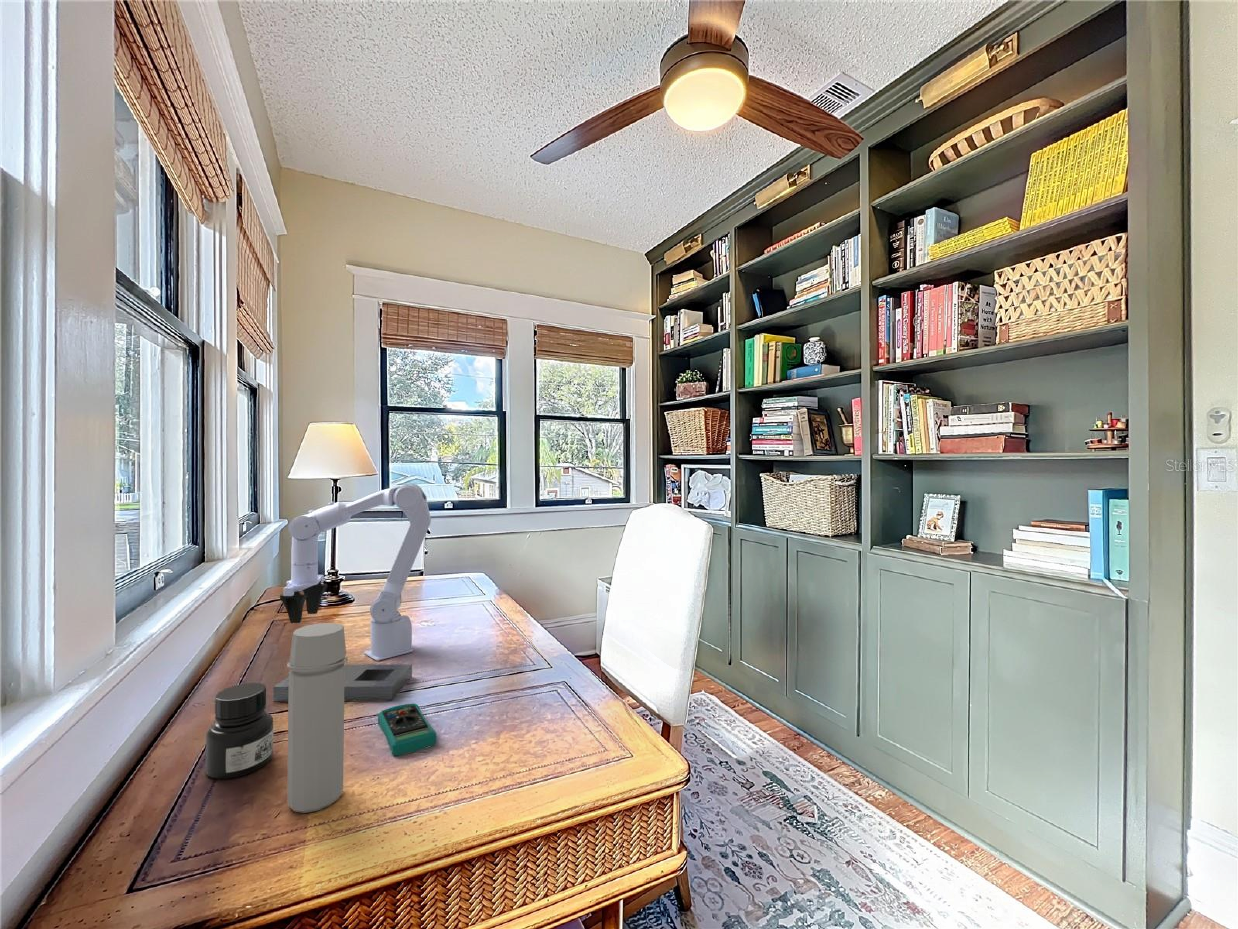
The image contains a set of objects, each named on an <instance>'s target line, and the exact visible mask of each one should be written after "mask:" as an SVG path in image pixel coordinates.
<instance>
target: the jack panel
mask: <svg viewBox="0 0 1238 929" xmlns="http://www.w3.org/2000/svg"><path fill="white" fill-rule="evenodd" d="M412 678H413V664H411V663H410V664H409V663H408V664H395V663H394V664H392V663H391V664H386V663H385V664H377V663H376V664H373V663H372V664H370V663H369V664H365V663H364V664H362V663H361V664H360V663H359V664H345V672H344V702H381V701H382V702H392V701H393V700H394V699H395V698H396V697H397V696H398V694H400V692H402V690H403V689H404V688H405V687H406V685H407V684H408V683H409V682H410V681H411V679H412ZM288 694H289V676H287V677H285V678H284V679H282V680H281V681H280V682H278V683H277V684H275V685H274V686H273V702H288Z"/></svg>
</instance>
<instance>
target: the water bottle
mask: <svg viewBox="0 0 1238 929" xmlns="http://www.w3.org/2000/svg"><path fill="white" fill-rule="evenodd" d="M291 637H292V638H291V646H290V655H289V662H287V664H286V666H287V668H288V669H289V672H288V677H289V694H288V701H287V703H288V704H287V706H288V708H287V709H288V711H287V715H288V716H287V717H288V718H287V722H288V723H287V724H288V725H287V786H286V787H287V794H286V795H287V796H286V797H287V798H286V799H287V803H286V804H287V805H288V806H289V807H290V809H291V810H292V811H293V812H296V813H303V814H305V813H312V812H317V811H318V812H319V811H320V810H322V809H324V808H327V807H329V806H331V805H332V804H333V803H335V801H337V800H338V799H339V798H340V797H341V795H342V793H343V789H344V759H345V758H344V756H345V755H344V752H345V751H344V750H345V749H344V746H345V744H344V741H345V740H344V739H345V737H344V736H345V734H344V733H345V732H344V731H345V723H344V722H345V701H344V672H345V665H346V664H345V663H347V662H348V661H349V657H347V656H346V655H347V647H346V636H345V626H344V625H343V624H341V623H338V622H337V623H336V622H323V623H322V622H321V623H314V624H310V625H304V626H302V627H299V628H297V629H295V630H294V631H293V632H292V636H291Z"/></svg>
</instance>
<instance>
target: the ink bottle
mask: <svg viewBox="0 0 1238 929" xmlns="http://www.w3.org/2000/svg"><path fill="white" fill-rule="evenodd" d="M266 705H267V686H266V684H264V683H260V682H251V683H250V682H247V683H241V684H235V685H232V686H229V687H226V688H224V689H222V690H220V691H218V692H217V694H215V695H214V715H215V716H214V720H215V722H214V723H213V724H211V725H210V727H209V728H208V729H207V731H206V735H205V772H206V776H208V777H210V778H214V779H221V780H222V779H234V778H238V777H243V776H246V775H248V774H250V773H253V772H255V771H257V770H259V769H260V768H262V767H263V766H265V765H266V764H267V763H268V762H270V761H271V759H272V757H273V754H274V718H273V716H272V715H271V714H270V713H269V712H266V708H267V706H266Z"/></svg>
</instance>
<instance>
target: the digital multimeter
mask: <svg viewBox="0 0 1238 929" xmlns="http://www.w3.org/2000/svg"><path fill="white" fill-rule="evenodd" d="M377 724H378V726H379V727H380V730H382V732H383V734H384V736H385V739H386V741H387V744H388V746H389V749H390V752H391V755H392V756H393V757H398V756H401V754H402V755H406V754H405V753H407V754H409V753H414V752H417V750H418V751H420V749H422V750H425V749H427V748H426V747H428V748H430V747H429V746H431V747H434V746H436V745H437V736H438V735H437V732H436V731H435V729H433V727H432V726H431V724H430V723H429V722H428V720H427V719H426V717H425V716H424V714H423V712H422V710H421V708H420V706H419V704H417V703H416V702H415V703H405V704H400V705H395V706H392V707H388V708H386V709H383V710H381V711H380V712H378V713H377ZM433 745H434V746H433ZM424 748H425V749H424ZM397 755H398V756H397Z"/></svg>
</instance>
